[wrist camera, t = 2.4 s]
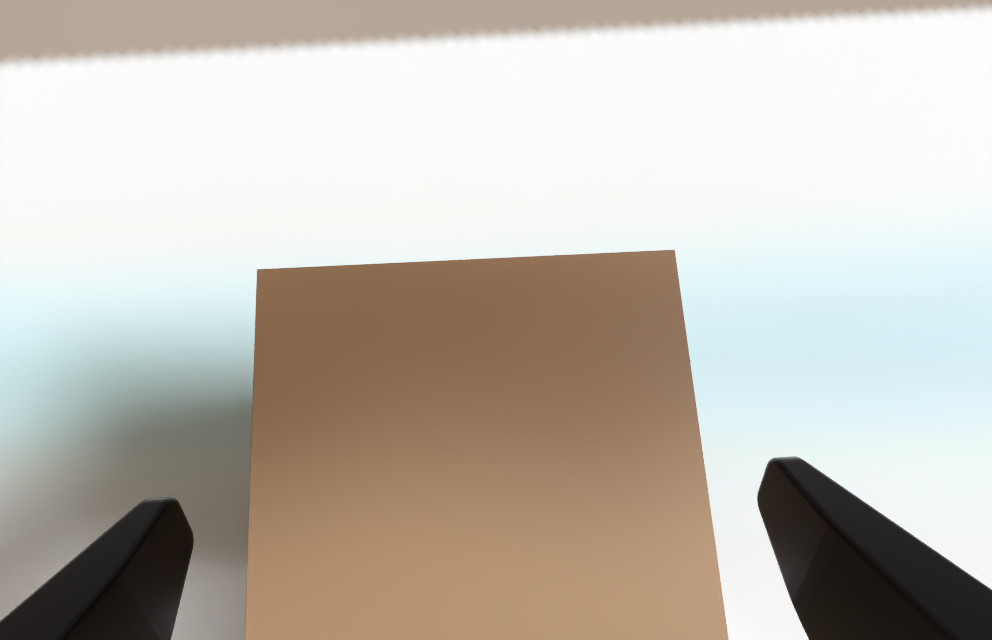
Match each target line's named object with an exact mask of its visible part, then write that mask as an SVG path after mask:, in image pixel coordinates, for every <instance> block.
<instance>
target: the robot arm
mask: <svg viewBox="0 0 992 640" xmlns="http://www.w3.org/2000/svg"><path fill="white" fill-rule="evenodd" d="M757 500H758V507H759V510H760V513H761V516H762V519H763V522H764V525H765V528H766V530H767V533H768V536H769V539H770V542H771V545H772V548H773V550H774V553H775V556H776V559H777V562H778V565H779V567H780V570H781V573H782V576H783V579H784V582H785V585H786V587H787V590H788V593H789V595H790V598H791V601H792V603H793V605H794V608H795V610H796V612H797V615H798V617H799V619H800V621H801V623H802V626H803V628H804V630H805V632H806V634H807V636H808V638H809V640H992V590H991V589H990V588H988V587H987V586H986V585H984V584H983V583H981V582H980V581H978V580H977V579H975V578H974V577H973V576H971V575H970V574H968V573H967V572H965V571H964V570H962V569H961V568H959V567H958V566H957V565H955V564H954V563H952V562H951V561H949V560H948V559H946V558H945V557H943V556H942V555H941V554H939V553H938V552H936V551H935V550H933V549H932V548H930V547H929V546H928V545H926V544H925V543H923V542H922V541H920V540H919V539H917V538H916V537H914V536H913V535H912V534H910V533H909V532H907V531H906V530H904V529H903V528H901V527H900V526H899V525H897V524H896V523H894V522H893V521H891V520H890V519H888V518H887V517H885V516H884V515H883V514H881V513H880V512H878V511H877V510H875V509H874V508H872V507H871V506H870V505H868V504H867V503H865V502H864V501H862V500H861V499H859V498H858V497H856V496H855V495H854V494H852V493H851V492H849V491H848V490H846V489H845V488H843V487H842V486H840V485H839V484H838V483H836V482H835V481H833V480H832V479H830V478H829V477H827V476H826V475H825V474H823V473H822V472H820V471H819V470H817V469H816V468H814V467H813V466H811V465H810V464H809V463H807V462H806V461H804V460H802V459H801V458H798V457H779V458H772V459H771V460H770V461H769V462H768V464H767V467H766V470H765V473H764V476H763V479H762V482H761V485H760V488H759V491H758V497H757ZM193 542H194V539H193V532H192V529H191V527H190V525H189V523H188V521H187V519H186V516H185V514H184V512H183V510H182V508H181V506H180V503H179V502H178V500H176V499H175V498H173V497H162V498H149V499H145V500H143V501H142V502H140V503H139V504H138V505H136V506H135V507H134V508H133V509H132V510H131V511H129V512H128V513H127V514H126V515H125V516H123V517H122V518H121V519H120V520H119V521H118V522H116V523H115V524H114V525H113V526H112V527H110V528H109V529H108V530H107V531H106V532H105V533H103V534H102V535H101V536H100V537H99V538H98V539H96V540H95V541H94V542H93V543H92V544H90V545H89V546H88V547H87V548H86V549H85V550H83V551H82V552H81V553H80V554H79V555H78V556H76V557H75V558H74V559H73V560H72V561H70V562H69V563H68V564H67V565H66V566H65V567H63V568H62V569H61V570H60V571H59V572H57V573H56V574H55V575H54V576H53V577H52V578H50V579H49V580H48V581H47V582H46V583H45V584H43V585H42V586H41V587H40V588H39V589H37V590H36V591H35V592H34V593H33V594H32V595H30V596H29V597H28V598H27V599H26V600H25V601H23V602H22V603H21V604H20V605H19V606H17V607H16V608H15V609H14V610H13V611H12V612H10V613H9V614H8V615H7V616H6V617H4V618H3V619H2V620H1V621H0V640H171V636H172V632H173V628H174V624H175V620H176V616H177V612H178V608H179V603H180V599H181V595H182V591H183V587H184V583H185V579H186V574H187V570H188V566H189V562H190V558H191V554H192V550H193Z"/></svg>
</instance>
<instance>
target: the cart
mask: <svg viewBox="0 0 992 640" xmlns="http://www.w3.org/2000/svg"><path fill="white" fill-rule="evenodd" d="M245 640H728V633H727V625H726V618H725V611H724V604H723V597H722V589H721V582H720V575H719V568H718V560H717V553H716V546H715V539H714V532H713V524H712V517H711V510H710V503H709V495H708V488H707V481H706V474H705V467H704V459H703V452H702V445H701V438H700V431H699V423H698V416H697V409H696V402H695V394H694V387H693V380H692V373H691V366H690V358H689V351H688V344H687V337H686V329H685V322H684V315H683V308H682V301H681V293H680V286H679V279H678V272H677V265H676V257H675V250H662V251H641V252H620V253H598V254H577V255H556V256H534V257H513V258H492V259H471V260H449V261H428V262H407V263H386V264H364V265H343V266H322V267H301V268H279V269H258V270H257V290H256V320H255V350H254V380H253V411H252V441H251V471H250V501H249V531H248V561H247V591H246V622H245Z"/></svg>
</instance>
